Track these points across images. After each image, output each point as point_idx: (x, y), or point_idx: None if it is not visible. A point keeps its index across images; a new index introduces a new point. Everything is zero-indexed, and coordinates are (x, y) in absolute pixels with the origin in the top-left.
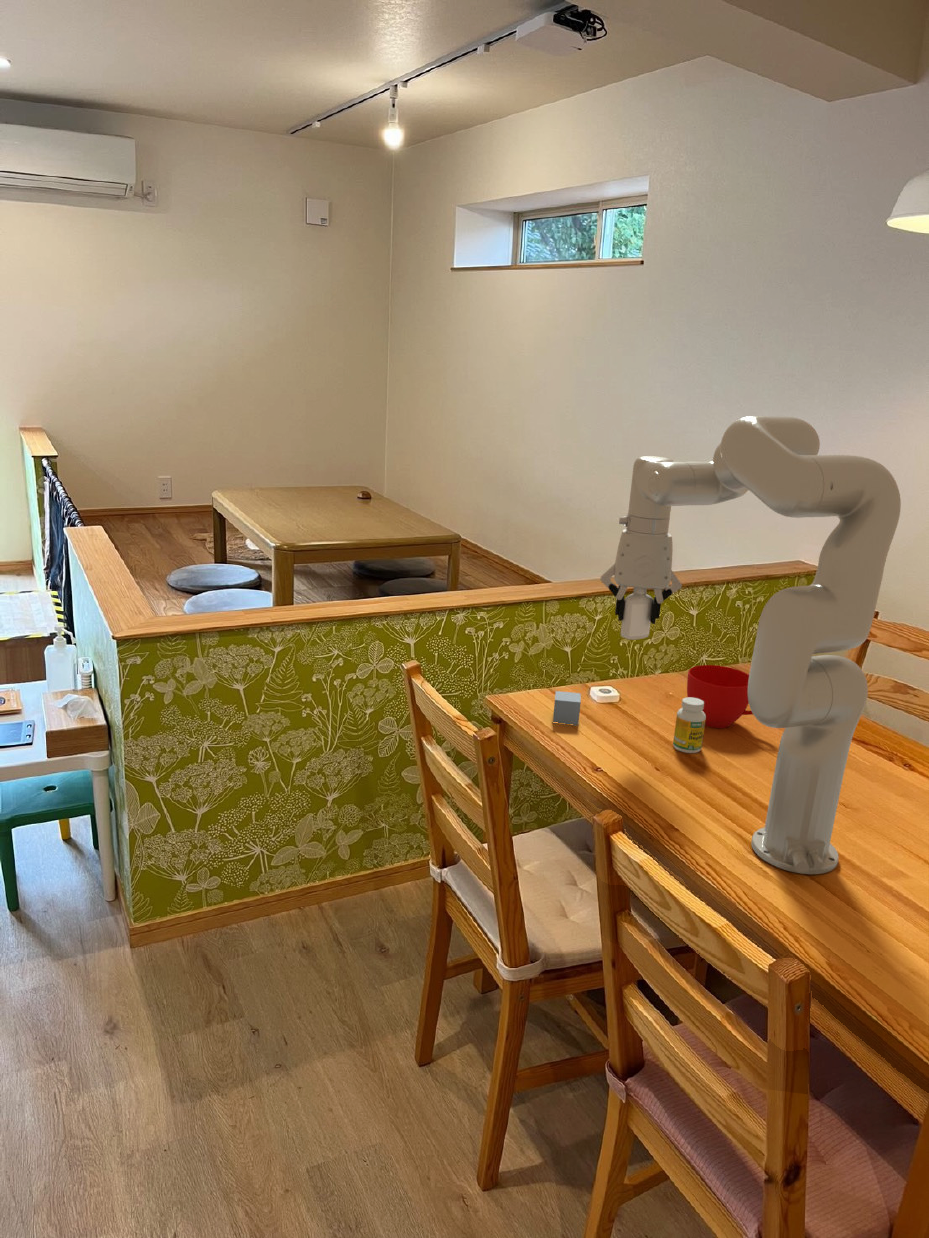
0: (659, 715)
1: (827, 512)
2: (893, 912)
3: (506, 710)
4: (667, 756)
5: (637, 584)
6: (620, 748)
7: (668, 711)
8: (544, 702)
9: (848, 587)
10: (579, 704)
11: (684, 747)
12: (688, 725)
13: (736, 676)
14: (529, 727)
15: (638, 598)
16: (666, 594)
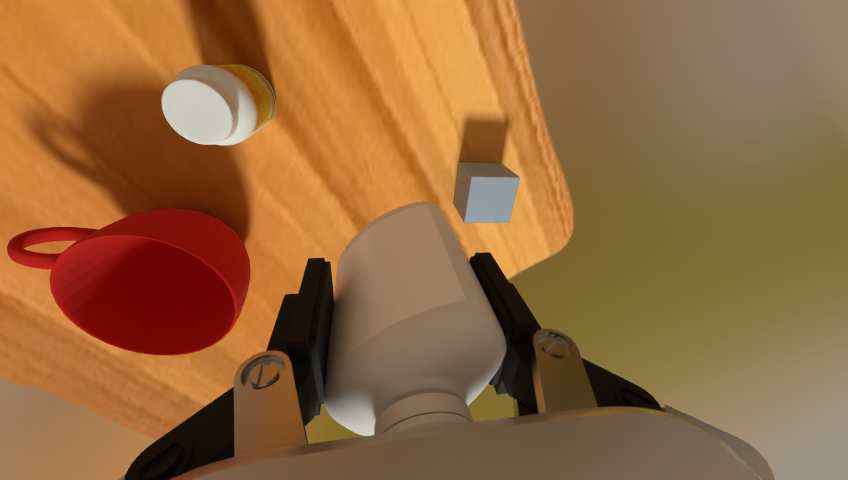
0: (309, 242)
1: None
2: None
3: (567, 196)
4: (285, 37)
5: (511, 450)
6: (387, 63)
7: (293, 262)
8: (500, 243)
9: None
10: (472, 175)
11: (245, 66)
12: (222, 66)
13: (128, 333)
14: (546, 133)
15: (433, 350)
16: (196, 441)
